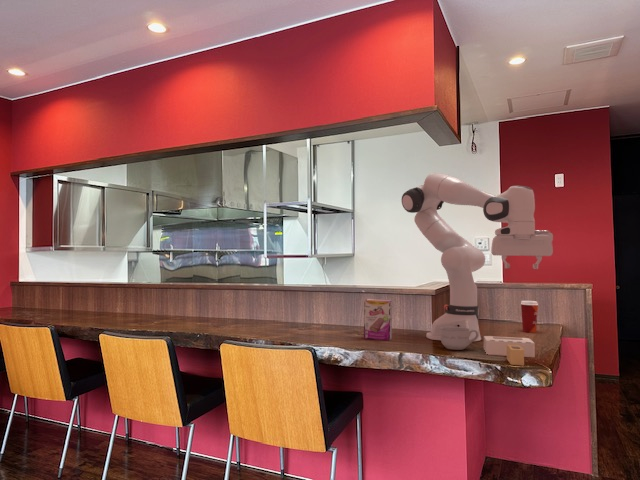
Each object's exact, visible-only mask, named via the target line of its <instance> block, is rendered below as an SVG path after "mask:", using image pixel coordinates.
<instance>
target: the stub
mask: <svg viewBox="0 0 640 480" xmlns="http://www.w3.org/2000/svg"><path fill="white" fill-rule="evenodd" d="M506 360H507V361H508V363H509V364H510V366H511V365H513V366H523V367H524V366H525V357H524V350H523V348H522V347H521V346H520V345H508V344H507V356H506Z"/></svg>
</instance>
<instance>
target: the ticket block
mask: <svg viewBox="0 0 640 480" xmlns="http://www.w3.org/2000/svg"><path fill="white" fill-rule="evenodd" d="M507 344H508V345H520V346H521V347H522V348H523V350H524V358H536V355H535V354H536V353H535V352H536V349H535V347H536V346H535V345H536V343H535V342H534V341H533V340H532V339H531V338H528V337H511V336H510V337H509V336H493V335H483V350H485V351H484V353H485V352H486V353H485V354H486V355H487V354H488V355H490V356H503V357H504V356H506V357H507Z"/></svg>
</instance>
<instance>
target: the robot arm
mask: <svg viewBox="0 0 640 480" xmlns="http://www.w3.org/2000/svg"><path fill="white" fill-rule="evenodd" d="M535 202H536V199H535V193H534V190H533V188H531V187H529V186H524V185H512V186H510V187H508V189H507V190H505V191H504V192H502V193H500V194H497V195H494V194H491V193H488V192H486V191H483V190H481V189H479V188H477V187H475V186H473V185H472V184H469V183H467V182H466V181H464V180H462V179H460V178H459V177H458V178H457V177H455V176H453V175H450V174H446V173H440V172H432V173H429V174H428V175H427V176H426V178H425V179H424V183H423V184H422V185H418V186H417V187H413V188H409V189H408V190H407V191H405V192H404V193H403V194H402V196H401V205H402V207H403V209H404V210H405V211H406V212H407V213H412V214H413V213H415V215H414V218H413V219H414V223H415V225H416V227H417V228H418V230H419V232H420V233H422V235H423V236H424V238H425V239H426V240H428V241H429V243H430V244H431V245H432V246H433V247H434V248H435V249H436V250H437V251H439V252H440V253H442V254H441V257H440V262H441V266H442V267H443V268H444V270H445V272H446V275H447V279H448V283H449V304H444V306H443V308H444V314H442V315H441V316H439V317H438V318H436V319H435V320H434V321H433V322H432V325H431V331H428V332H426V334H425V337H426V338H427V339H429V340H433V341H441V329H440V328H441V327H463V328H469V329H470V330H471V329H475V330H477V331H478V333H479V336H478V338H477V339H476V340H475V341H474V342H479V341H481V340H482V336H481V332H480V328H479V314H480V313H479V311H480V310H479V309H480V308H479V306H478V286H477V284H476V282H475V281H474V277H473V273H474V272H476V271H478V270H480V269H481V268H483V267H484V265H485V264H486V256H485V253H484V251H482V250H481V249H479V248H478V247H476V246H475V245H473V244H472V243H471V242H469V241H468V240H467V239H465V238H464V237H463V236H462V235H460V234H459V233H458V232H456V230H454V229H453V228H452V227H451V226H450V225H449V224H448V223H447V222H446V221H445V219H443V218H442V217H441V216H440V214H439V213H438V210H441V209H442V207H443V205H444V203H447V204H450V205H457V206H471V207H472V206H473V207H479V208H481V209H482V211H483V215H484V217H485V218H486V219H487V221H490V222H495V223H504V224H507V226H502V227H500V228H497V229H495V230H494V234H495V236H494V237H493V238H492V240H491V241H492V242H491V247H490V248H491V249H490V252H491V253H490V254H491V255H492V256H499V257H500V256H501V260H502V262H503V264H504V269H510V268H511V263H509V262H507V260H506V259H507V258H508V256H509V257H510V256H518V257H523V256H525V257H531V256H532V257H535V259H536V262H535V263H532V269H533V270H539V264H540V263H541V262H542V260H543V257H552V255H553V253H554V247H553V241H554V235H553V233H552V232H551V231H550V230H547V229H546V230H544V229H543V230H539V229H537V230H536V220H535V211H536V203H535ZM475 336H476V333H475V332H472V333H471V335H470V336H469V340H471V339H473V338H475Z"/></svg>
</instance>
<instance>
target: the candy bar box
mask: <svg viewBox="0 0 640 480" xmlns="http://www.w3.org/2000/svg"><path fill="white" fill-rule="evenodd" d="M363 306H364V307H363V308H364V309H363V311H364V314H363V315H364V317H363V321H364V322H363V339H364V340H375V341H376V340H377V341H389V342H390V341H391V340H392V338H393V300H392V299H375V298H374V299H373V298H366V299H364V305H363Z"/></svg>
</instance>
